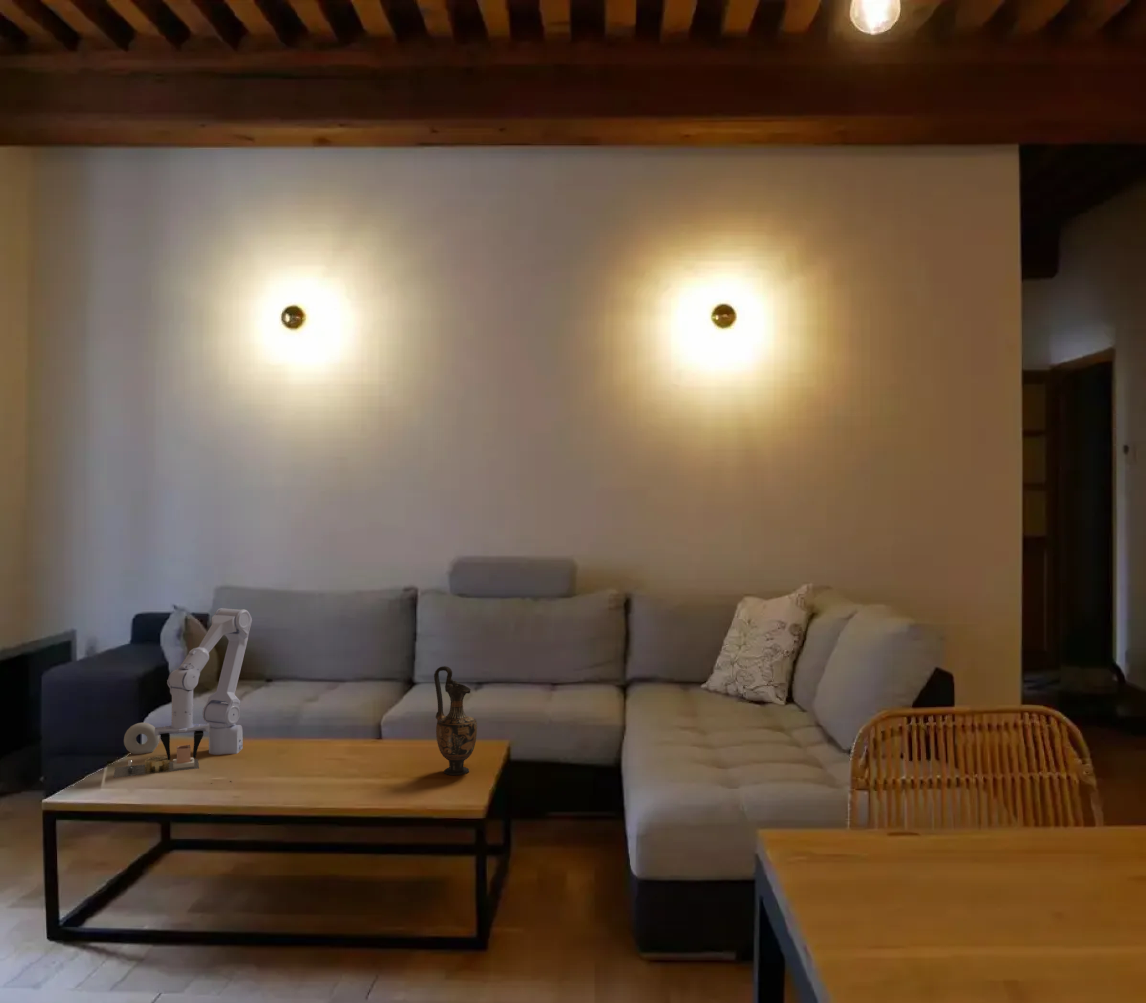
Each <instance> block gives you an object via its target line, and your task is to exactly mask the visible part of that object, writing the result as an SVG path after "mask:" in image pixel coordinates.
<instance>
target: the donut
mask: <svg viewBox="0 0 1146 1003" xmlns="http://www.w3.org/2000/svg"><path fill="white" fill-rule="evenodd" d="M155 728H156V727H155V726H154V725H152V723H151V724H150V723H148V722H138V723H135V724H133V725H130V727H128V729H126V731H125V733H124V737H123V745H124V747H125V748H126V750H127V751H128V752H129V753H130V754H134V755H141V754H142V755H143V754H150V753H153V752H155V750H156V749H157V748H158V746H159V742H160V735H158V736H155ZM139 735H144V736H145V737H146V740H147V741H146V742H145V743H143V744H142V743H139V742H138V741H137V737H138V736H139Z"/></svg>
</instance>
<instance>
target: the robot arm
mask: <svg viewBox="0 0 1146 1003" xmlns="http://www.w3.org/2000/svg"><path fill="white" fill-rule="evenodd" d="M252 623H253V618H252V615H251V614H250V612H249V610H247V609H244V608H243V609H236V608H235V609H234V608H225V607H221V608H220V607H219V608H218V609H217V610H216V611H215V612H214V615H212V616H211V626H210V627H209V628H208V631H207V632H206V634H205V635H204V637H203V639H202V640H201V642H200V643H199V646H197V647H194V648H192V649H191V650H189V652H188V654H187V656H185V658H184V660H183V661H182V663H181V664H180V665H179V667H178V668H176V669H174V670H173V671H171V672H170V673H169V675H168V679H167V680H166V681H167V682H166V684H167V686H168V688H169V694H170V695H171V725H165V726H158V727H155V736H158V735H159V739H160V741H161V742H162V744H163V746H164V749H165V753H166V756H167V758H168V760H169V761H171V750H170V748H171V747H170V746H171V738H170V737H171V735H175V734H176V735H177V734H189V733H191V734H192V733H193V747H192V748H193V750H192V757H193V758H194V759H197V752H198V749H199V746H200V743H201V741H202V739H203V738H204V737H203V736H204V735H205V734H204V732H205V733H208V754H210V755H229V754H230V755H233V754H234V755H235V754H236V755H237V754H238V753H239V752H241V751H242V750H243V748H244V747H243V745H244V743H243V742H244V741H243V740H244V739H243V735H244V734H243V726H242V725H241V724H237V722H238V721H239V719H240V715H241V709H240V708H241V707H240V706H241V700H240V699H239V697H238V696H236V690H237V686H238V682H239V679H240V678H239V677H240V674H241V669H242V666H243V663H244V662H243V661H244V656H245V652H246V649H247V644H248V640H249V634H250V629H251V626H252ZM223 636H225V638H226V639H227V640H228V642H227V643H228V644H227V647H226V651H225V655H224V659H223V664H222V666H221V672H220V674H219V679H218V684H217V687H216V691H215V692H214V693H212V694H211V695H210V696H208V698H207V701H206V703H205V705H204V707H203V710H202V719H203V721H205V722H206V723H194V690H195V688H196V687H197V686H198V684H199V678H200V676H201V673H202V671H203V669H204V668H205V666H206V665H207V663H208V662H209V660H210V652H211V651H212V650H213V648H214V647H215V646H216V645H217V644H218V643H219V641H220V640H221V638H222V637H223Z"/></svg>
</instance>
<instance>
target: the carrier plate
mask: <svg viewBox="0 0 1146 1003" xmlns="http://www.w3.org/2000/svg"><path fill="white" fill-rule="evenodd" d="M196 769H200V765H199V758H194V767H186V768H177V769H173V761H170V760H168V758H167V755H166V756H165V755H162V756H159V755H156V756H153V757H147V758H146V759H144V764H136V765H133V759H128V760H127V765H126V766H118V767H116V766H115V768H114V774H113V778H115V779H116V778H122V777H132V776H141V775H150V774H157V773H158V774H160V773H169V772H177V771H178V772H179V771H185V770H189V771H190V770H196Z"/></svg>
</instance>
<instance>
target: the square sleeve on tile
mask: <svg viewBox="0 0 1146 1003" xmlns="http://www.w3.org/2000/svg"><path fill="white" fill-rule="evenodd" d="M194 759H195V758H193V756H191V745H190V744H186V745H177V746H176V758H174V759H172V762H173V769H177V768H186V767H194Z"/></svg>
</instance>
